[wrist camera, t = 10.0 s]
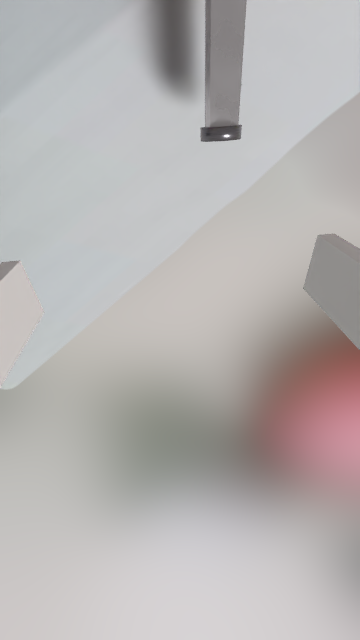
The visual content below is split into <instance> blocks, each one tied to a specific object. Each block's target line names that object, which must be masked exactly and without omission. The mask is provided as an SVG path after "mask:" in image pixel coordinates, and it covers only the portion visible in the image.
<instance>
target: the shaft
mask: <svg viewBox="0 0 360 640" xmlns="http://www.w3.org/2000/svg"><path fill="white" fill-rule="evenodd" d="M245 15H246V0H205V127H202V128H201V141H205V142H208V141H228V140H237V139H241V128H242V125H238V121H239V106H240V91H241V76H242V61H243V45H244V30H245Z"/></svg>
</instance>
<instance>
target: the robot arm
mask: <svg viewBox="0 0 360 640" xmlns="http://www.w3.org/2000/svg"><path fill="white" fill-rule="evenodd" d="M303 289H304V290H305V291H306V292H307V293H308V294H309V295H310V296H311V298H312V299H313V300H314V301H315V302H316V303H317V304H318V305H319V306H320V307H321V308H322V310H323V311H324V312H325V313H326V314H327V315H328V316H329V317H330V318H331V319H332V320H333V322H334V323H335V324H336V325H337V326H338V327H339V328H340V329H341V330H342V331H343V332H344V333H345V335H346V336H347V337H348V338H349V339H350V340H351V341H352V342H353V343H354V344H355V345H356V347H357V348H358V349H359V350H360V249H359V248H357V247H356V246H354V245H352V244H351V243H349V242H347V241H346V240H344V239H342V238H340V237H339V236H337V235H336V234H325V235H318V236H317V240H316V243H315V247H314V251H313V255H312V258H311V262H310V265H309V269H308V273H307V276H306V280H305V284H304V287H303ZM43 314H44V310H43V308H42V306H41V304H40V302H39V300H38V298H37V295H36V293H35V291H34V289H33V287H32V285H31V282H30V280H29V278H28V276H27V274H26V272H25V270H24V267H23V265H22V263H21V261H10V262H2V263H1V264H0V388H1V386H2V384H3V383H4V381H5V379H6V377H7V376H8V374H9V372H10V371H11V369H12V367H13V365H14V364H15V362H16V360H17V359H18V357H19V355H20V353H21V352H22V350H23V348H24V347H25V345H26V343H27V341H28V340H29V338H30V336H31V335H32V333H33V331H34V329H35V328H36V326H37V324H38V323H39V321H40V319H41V317H42V316H43Z"/></svg>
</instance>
